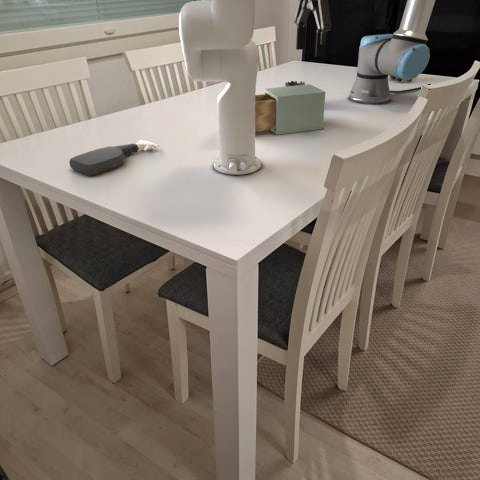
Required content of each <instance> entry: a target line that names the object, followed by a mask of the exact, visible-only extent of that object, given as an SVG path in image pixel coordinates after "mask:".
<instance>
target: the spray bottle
mask: <svg viewBox="0 0 480 480" xmlns="http://www.w3.org/2000/svg"><path fill="white" fill-rule="evenodd" d="M159 148H160V145H159V144H158V143H155V142H151V141H148V140H144V139H139V140H138V141H137V142H135V143H129V144H128V143H126V144H122V145H113V146H105V147H100V148H97V149H94V150H90V151H87V152H83V153H81V154H78V155H74V156H73V157H70V159H69V161H68V162H69V167H70V168H71V169H72V170H74V171H75V172H78V173H81V174H83V175H85V176H89V177H90V176H91V177H92V176H95V175H99V174H102V173H105V172H107V171H110V170H113V169H116V168H118V167H120V166H122V165H123V164H124V163H125V158H126V156H127V155H131V154H133V153H138V151H140V150H143V151H144V152H146V151H147V150H149V149H159Z"/></svg>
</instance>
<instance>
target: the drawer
mask: <svg viewBox="0 0 480 480" xmlns="http://www.w3.org/2000/svg"><path fill="white" fill-rule="evenodd" d="M272 129H276V99H275V98H273V97H272V96H270V95H269V94H264V93H262V94H255V133H256V132H262V131H271V130H272Z"/></svg>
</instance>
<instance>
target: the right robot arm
mask: <svg viewBox="0 0 480 480" xmlns="http://www.w3.org/2000/svg"><path fill="white" fill-rule="evenodd" d="M435 2H436V0H406V3H405V7H404V11H403V14H402V18H401V21H400V25H399V28H398V29H397V30H395V32H393V33H386V34H373V35H365V36H363V37H362V38H361V40H360V45H359V47H358V48H359V49H358V58H357V59H358V60H357V68H356V69H357V70H356V77H355V80H354V82H353V84H352V88H351V90H350V92H349V97H348V98H349V100H350V101H352V102H355V103H360V104H366V105H380V104H384V103H388V102H390V98H391V94H402V93H408V92H413V91H419V90H422V89H421V87H422V86H418V87H414V88H409V89H403V90H402V89H401V90H390V85H389V77H390V76H393V77H396V79H397V78H399V79H402V80H409V79H412V80H413V79H416V78H417V77H418V76H419V75H421V74H422V73H423V72H424V71H425V69H426V68H427V66H428V63H430V62H429V61H430V57H431V53H430V48H429V47H428V46H427V43H428V40H429V39H428V37H427V35H426V31H427V28H428V24H429V21H430V18H431V16H432V12H433V8H434V5H435ZM311 12H312V13H313V15H314V18H315V22H316V23H315V24H316V27H317V30H316V36H315V51H314V57H315V58H319V57H325V56H326V41H327V33H328V31H331V30H332V21H331V13H330V6H329V0H298V1H297V5H296V9H295V14H294V18H293V24H295V26H296V39H295V44H296V45H295V50H297V51H299V50H305V49H306V33H307V20H308V18H309V16H310V14H311ZM431 84H432V83H427V84H426V85H431Z"/></svg>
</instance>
